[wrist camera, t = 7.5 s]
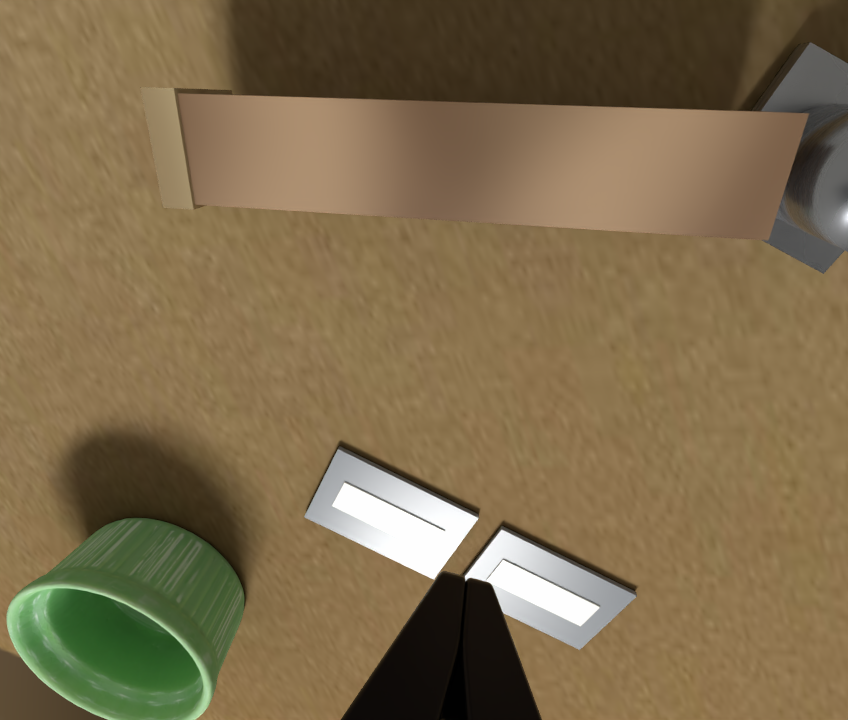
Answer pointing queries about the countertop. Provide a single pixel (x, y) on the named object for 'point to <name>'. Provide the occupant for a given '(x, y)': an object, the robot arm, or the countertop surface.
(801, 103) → the post on base plate
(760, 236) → the bar
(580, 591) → the label tile
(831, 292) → the countertop surface
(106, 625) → the ramekin
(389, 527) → the label tile
